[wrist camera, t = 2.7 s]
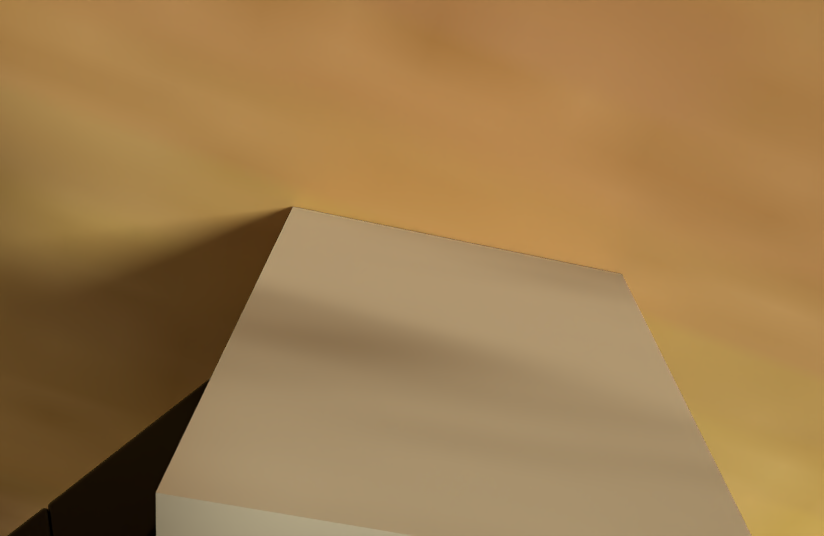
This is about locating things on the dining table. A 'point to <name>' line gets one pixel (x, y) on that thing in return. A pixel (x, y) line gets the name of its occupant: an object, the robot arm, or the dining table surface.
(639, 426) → the birch cube
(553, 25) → the dining table surface
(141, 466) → the robot arm
